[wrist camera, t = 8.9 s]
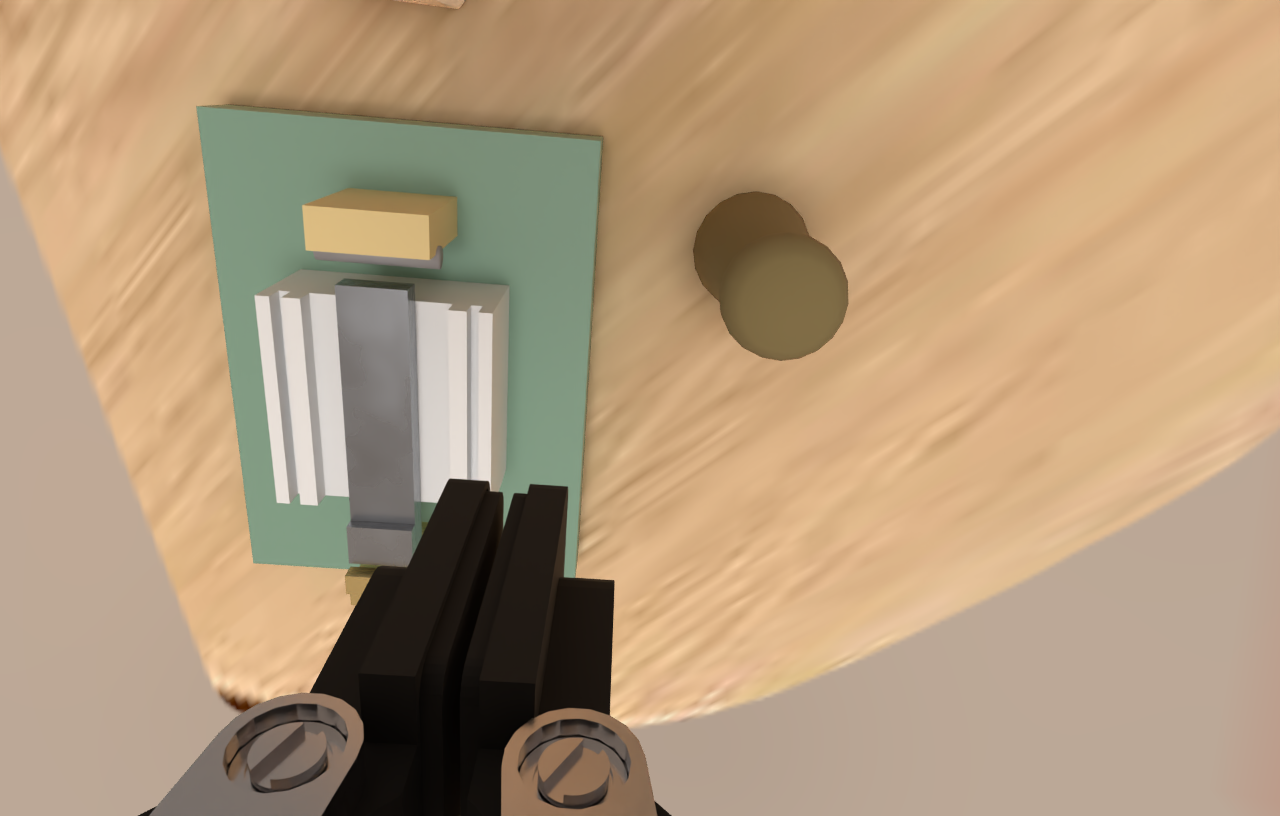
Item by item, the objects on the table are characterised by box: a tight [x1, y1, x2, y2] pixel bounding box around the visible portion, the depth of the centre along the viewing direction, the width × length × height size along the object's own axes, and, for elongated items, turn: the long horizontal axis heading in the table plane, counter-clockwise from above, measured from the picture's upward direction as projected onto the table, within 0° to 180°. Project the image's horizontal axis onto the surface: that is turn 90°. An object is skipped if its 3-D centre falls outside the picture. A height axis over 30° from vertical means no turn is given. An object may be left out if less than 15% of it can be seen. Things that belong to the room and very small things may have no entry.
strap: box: [335, 278, 422, 567], centre depth 36 cm, size 13×3×2 cm, turn 175°
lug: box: [345, 522, 428, 605], centre depth 40 cm, size 2×3×6 cm, turn 85°
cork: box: [693, 192, 848, 361], centre depth 36 cm, size 6×6×11 cm
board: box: [196, 105, 603, 578], centre depth 39 cm, size 24×18×8 cm
